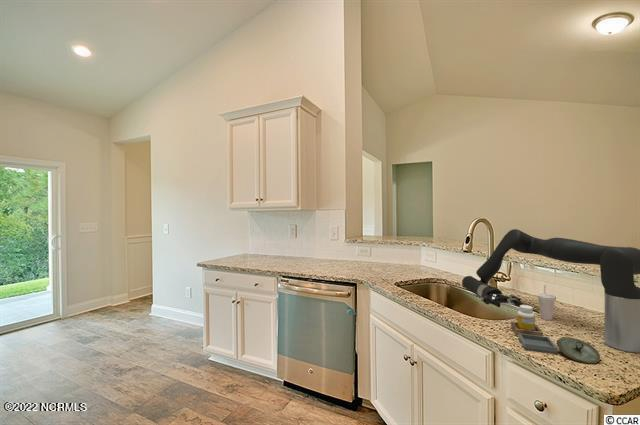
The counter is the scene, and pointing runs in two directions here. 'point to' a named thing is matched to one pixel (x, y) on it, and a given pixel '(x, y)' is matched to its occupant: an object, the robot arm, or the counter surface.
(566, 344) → the lid
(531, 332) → the collar block
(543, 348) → the tray
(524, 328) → the supplement bottle
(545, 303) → the smoothie
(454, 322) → the counter surface
